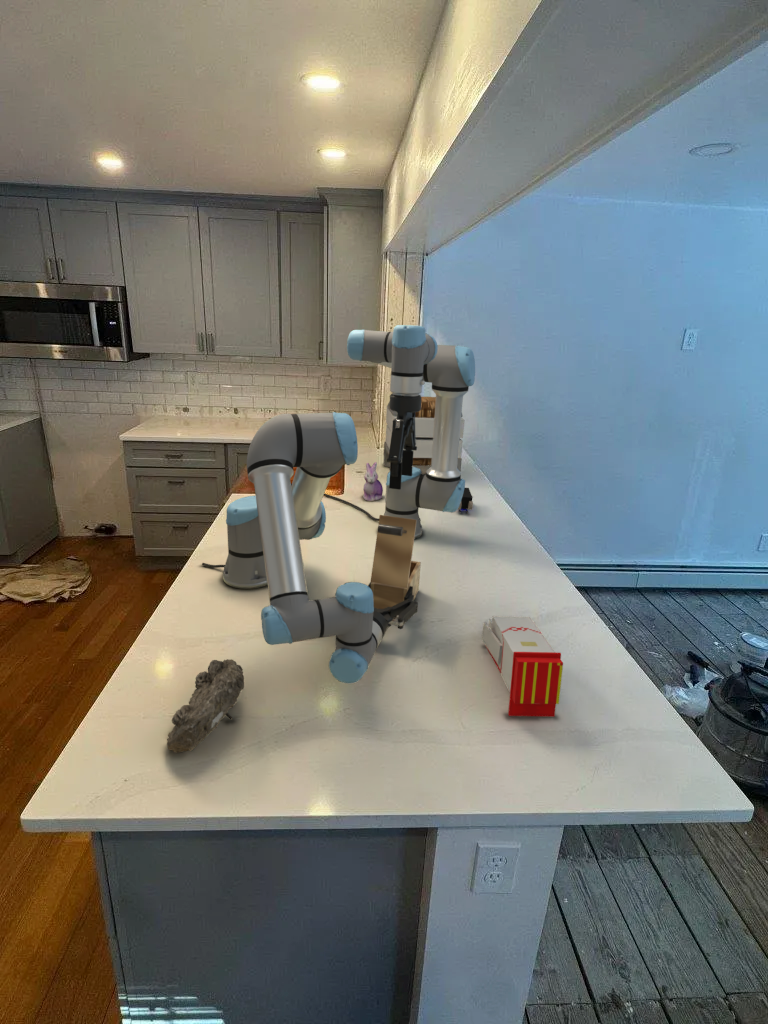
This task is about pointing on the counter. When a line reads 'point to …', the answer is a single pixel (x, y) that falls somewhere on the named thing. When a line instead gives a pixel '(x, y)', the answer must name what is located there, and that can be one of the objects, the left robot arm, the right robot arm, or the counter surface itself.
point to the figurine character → (466, 501)
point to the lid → (393, 551)
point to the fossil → (206, 705)
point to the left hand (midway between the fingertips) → (391, 587)
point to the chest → (395, 589)
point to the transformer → (420, 434)
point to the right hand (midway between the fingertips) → (401, 481)
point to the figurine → (372, 484)
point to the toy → (525, 665)
